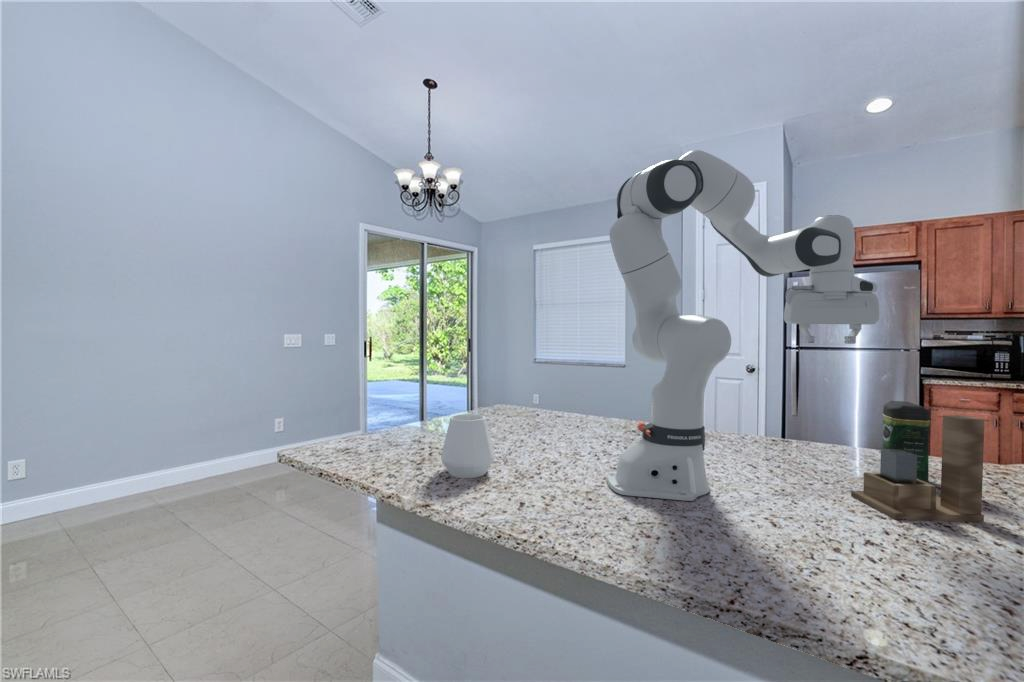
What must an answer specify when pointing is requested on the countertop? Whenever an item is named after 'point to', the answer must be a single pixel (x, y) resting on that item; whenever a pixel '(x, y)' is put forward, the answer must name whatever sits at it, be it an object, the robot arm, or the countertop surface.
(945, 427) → the wooden peg slot stand
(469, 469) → the cup
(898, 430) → the coffee jar
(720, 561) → the countertop surface
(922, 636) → the countertop surface
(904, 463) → the dark grey square peg
